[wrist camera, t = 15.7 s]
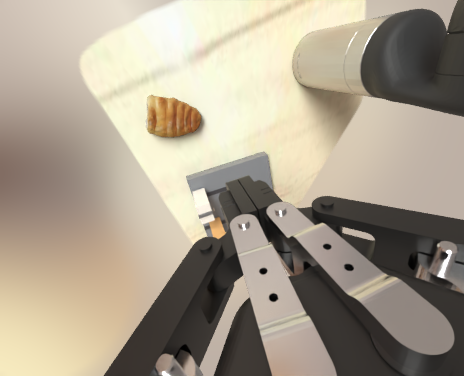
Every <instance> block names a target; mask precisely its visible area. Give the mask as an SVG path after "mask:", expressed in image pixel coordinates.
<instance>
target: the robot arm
mask: <svg viewBox="0 0 464 376" xmlns="http://www.w3.org/2000/svg"><path fill="white" fill-rule="evenodd" d="M447 33H449V34H447ZM293 72H294V75H295V77H296V79H297V80H298V82H300V83H301V84H302V85H304V86H306V87H311V88H318V89H323V90H330V91H336V92H343V93H349V94H355V95H363V96H369V97H376V98H382V99H386V100H390V101H394V102H399V103H405V104H410V105H415V106H419V107H424V108H428V109H432V110H436V111H440V112H444V113H449V114H453V115H458V116H463V117H464V0H458V1H457V3H456V6H455V8H454V11H453V13H452V17H451V20H450V23H449V26H448V30H447V31H446V27H445V24H444V22H443V20H442V19H441V18H440V16H439V15H438V14H436V13H435V12H433V11H431V10H426V9H415V10H409V11H404V12H400V13H395V14H391V15H386V16H382V17H378V18H373V19H369V20H364V21H359V22H355V23H350V24H345V25H341V26H336V27H332V28H327V29H322V30H318V31H314V32H311V33H309V34H307V35H306V36H305V37H304V38H303V39H302V40H301V41H300V42H299V44H298V46H297V47H296V50H295V52H294V56H293ZM225 184H226V188H227V191H225V192H222V193H220V194H219V198H218V199H219V202H220V206H221V209H222V212H223V216H224V219H225V221H226V224H227V226H228V228H229V229H228V231H227V232H226V234H225V235H224V236H222V237H221V238H219V239H217V238H215V237H205V238H202V239H200V240H198V241H197V242H196V243H195V244H194V245H193V247H192V248H191V249H190V251H189V252H188V254H187V255H186V257H185V258H184V260H183V261H182V263H181V264H180V265H179V267H178V268H177V270H176V271H175V273H174V274H173V276H172V277H171V279H170V280H169V281H168V283H167V284H166V286H165V287H164V289H163V290H162V292H161V293H160V295H159V296H158V298H157V299H156V300H155V302H154V303H153V305H152V306H151V308H150V309H149V311H148V312H147V313H146V315H145V316H144V318H143V319H142V321H141V322H140V324H139V325H138V327H137V328H136V329H135V331H134V332H133V334H132V335H131V337H130V338H129V340H128V341H127V343H126V344H125V346H124V347H123V349H122V350H121V352H120V353H119V354H118V356H117V357H116V359H115V360H114V362H113V363H112V364H111V366H110V367H109V369H108V370H107V372H106V373H105V375H104V376H203V374H202V372H201V370H200V369H199V367H200V364H201V362H202V360H203V358H204V355H205V353H206V351H207V348H208V346H209V344H210V341H211V339H212V337H213V334H214V332H215V330H216V327H217V325H218V323H219V320H220V318H221V316H222V314H223V311H224V309H225V306H226V304H227V302H228V300H229V297H230V295H231V292H232V290H233V287H234V282H235V281H236V280H237V279H239V278H240V277H242V276H243V275H244V278H245V282H246V285H247V289H248V292H249V295H250V298H248V299H247V300H246V301H245V302H244V303H243V304H242V306H241V307H240V308H239V310H238V311H237V313H236V315H235V317H234V320H233V322H232V325H231V328H230V331H229V333H228V337H227V339H226V342H225V345H224V348H223V351H222V354H221V356H220V359H219V362H218V365H217V368H216V371H215V374H214V376H464V220H460V219H455V218H450V217H444V216H438V215H432V214H427V213H422V212H416V211H409V210H405V209H399V208H393V207H388V206H382V205H376V204H371V203H365V202H359V201H354V200H348V199H342V198H337V197H331V196H323V197H319V198H317V199H315V200H314V201H313V202H312V207H308V208H295V207H294V206H293V205H292V204H290V203H287V202H283V201H282V200H281V199H280V198H279V197H278V196H277V195H276V193H275V192H274V191H273V190H272V189H271V188H270V187H269V185H268V184H267V183H266V182H263V181H261V180H257V181H255V182H254V181H253V180H252V178H251V177H250V176H249V175H247V176H244V177H241V178H238V179H235V180H232V181H229V182H226V183H225ZM342 227H346V228H350V229H354V230H358V231H362V232H366V233H369V234H371V235H372V236H373V237H374V238H375V241H371V240H367V239H363V238H359V237H355V236H352V235H348V234H344V233H342ZM269 242H271V244H269ZM283 266H284V267H283ZM284 268H285V269H286V270H287V272H288V273H289V274H290V276H289V277H288V276H287V274H286V272H285V269H284Z"/></svg>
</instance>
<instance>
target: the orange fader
mask: <svg viewBox="0 0 464 376" xmlns="http://www.w3.org/2000/svg"><path fill="white" fill-rule="evenodd" d="M214 219H215V220H214V221H211V222H209V224H210V228H211V231H212V234H213V237H215V238H217V239H219V238H221V237H222V236H224V235H225V234H226V233H225V231H224V228H223V225H222V223H221V220H220V217H217V218H214Z"/></svg>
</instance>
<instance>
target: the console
mask: <svg viewBox="0 0 464 376" xmlns="http://www.w3.org/2000/svg"><path fill="white" fill-rule="evenodd" d="M247 175H249V176H250V177H251V178H252V180H253V181H254V182H255V181H257V180H261V181H263V182H266V183H267V184H268V185H269V187H270V188H271V189H272V190H273V187H272V181H271V174H270V167H269V161H268V155H267V154H266V153H265V152H261V153H258V154H254V155H251V156H248V157H245V158H242V159H239V160H236V161H233V162H229V163H226V164H223V165H220V166H217V167H214V168H211V169H208V170H204V171H201V172H198V173H195V174H192V175H189V176H186V178H187V182H188V184H189V187H190V190H191V193H192V192H193V191H196V190H199V189H202V188H204V189H205V192H206V195H207V198H208V201H209V204H210V207H211V210H212V212H213V216H214V218H217V217H220V220H221V223H222V225H223V228H224V231H225V232H227V231H228V229H229V228H228V226H227V224H226V221H225V219H224V216H223V212H222V209H221V206H220V202H219V199H218V198H219V194H220V193H222V192H225V191H227V188H226V184H225V183H226V182H229V181H232V180H235V179H238V178H241V177H244V176H247ZM192 195H193V193H192ZM193 198H194V197H193ZM203 225H204V228H205V231H206V233H207V236H208V237H213V234H212V231H211V228H210V224H209V222H208V223H205V224H203Z"/></svg>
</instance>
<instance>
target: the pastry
mask: <svg viewBox="0 0 464 376" xmlns="http://www.w3.org/2000/svg"><path fill="white" fill-rule="evenodd" d="M200 121H201V115H200V113H199V112H198V110H197V109H196V108H194V107H191V106H189V105H188V104H187V103H184V102H181V101H178V100H177V99H175V98H163V97H156V96H153V95H150V96H149V97H148V98H147V119H146V128H147V130H148V132H149V133H150V134H155V135H157V136H161V137H175V136H181V135H185V134H187V133H190V132H194V131H196V129H197V128H198V127H199V126H200Z"/></svg>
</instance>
